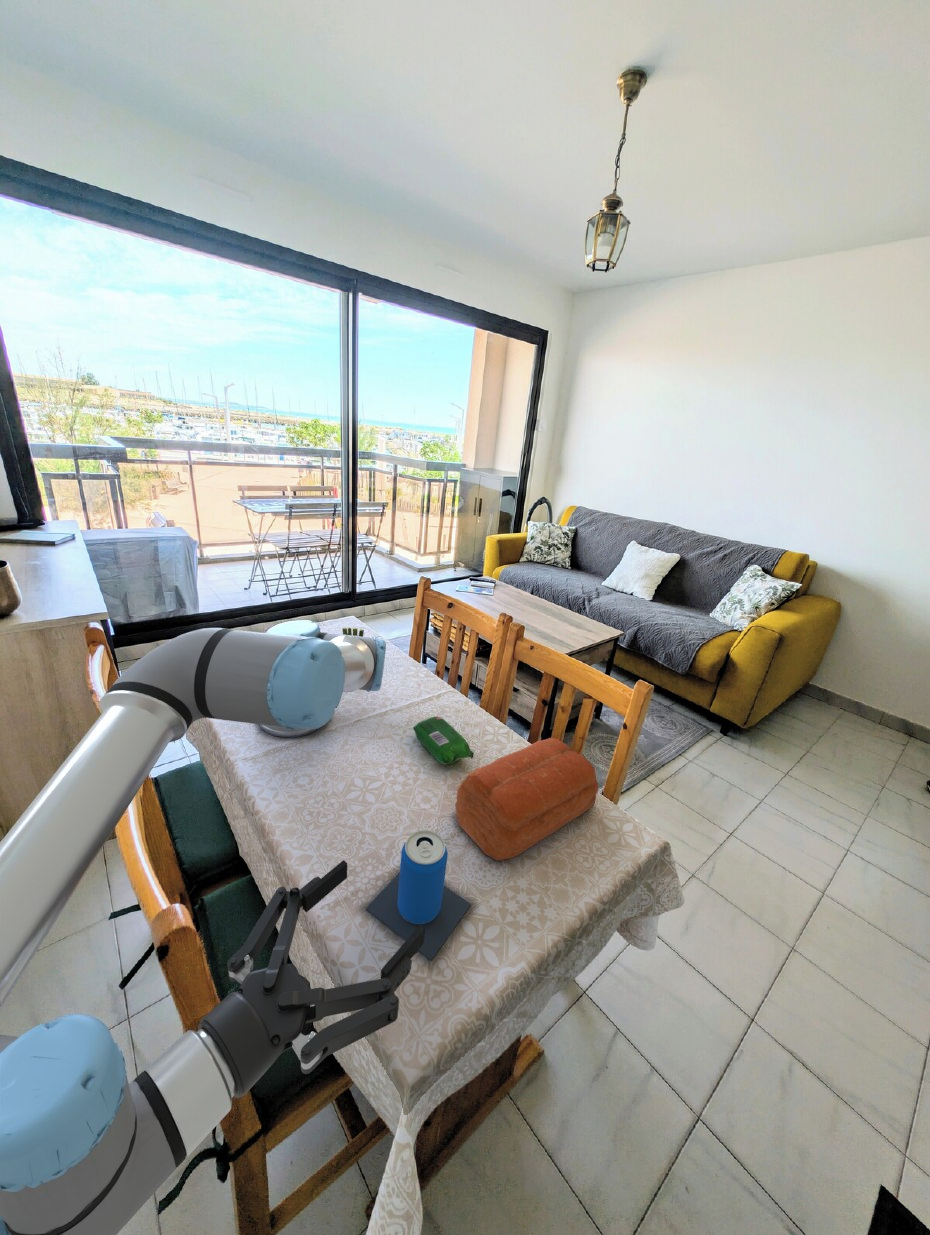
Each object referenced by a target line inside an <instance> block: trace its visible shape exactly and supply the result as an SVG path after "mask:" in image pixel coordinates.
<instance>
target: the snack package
mask: <svg viewBox="0 0 930 1235" xmlns="http://www.w3.org/2000/svg"><path fill="white" fill-rule="evenodd" d="M412 729H413V731H414V733H415V735H416V739H417V740H418V741H419V742H420V744H422V745H423V747H425V748H426V750H427V751H428V752H429V753H430V754H431V755H432V756H433V757H434V759H436V760H437V761H438V762H439V763H441V764H442V765H445V766H446V765H448V764H449V765H452V764H454V763H455V762H457V761H459V760H461V759H467V758H471V759H473V758H474V754H475V753H474V751H472V750H471V748H470V746H469V743H468V742H467V740H466V739H465V738H464V736H462V735H461V734H460V733H459V731H457V730H456V729H455V728H454V727H453V726H452V725H451V724H450V723H449V722H448V721H447V720H446V719H444V718H443V717H441V716H432V717H428V718H426V719H424V720H421V721H419V722H417V723H416V724H415V725H414V726H413V727H412Z"/></svg>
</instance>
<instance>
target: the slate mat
mask: <svg viewBox="0 0 930 1235" xmlns="http://www.w3.org/2000/svg"><path fill="white" fill-rule="evenodd" d="M399 877H400V871H399V872H398V873H397V874H396V875H395V876H394V877H393V878H392V879H391V881H390V882H389V883H388V884H387V885H386V886H385V887H384V888H383V889H382V890H381V891H380V892H379V893H378V894H377V895H376V896H375V897H374V898H373V899H372V900H371V902H370V903H368V905H367V906H366V907H365V911H366V912H368V913H369V914H370V915H372V916H373V917H374V918H376V919H377V920H378V921H379V922H380V923H382V924H383V925H385V926H386V927H387V928H388V929H389V930H391V931H392V932H393V933H395V934H396V935H397V936H398V937H399V938H401V939H402V940H404V941H405V942H406V940H407V939H408V938H409V937H410V936H411V935H412V934H413V932H414V931H415V930H416V929H417V928H418V927H419V926H420V924H415V923H411V922H409V921H407V920H406V919H404V918H403V917H402V915H401V914H400V912H399V909H398V890H399ZM471 905H472V904H471V902H469V901H468V900H466V899H464V898H463V897H462V896H460V895H459V894H457V893H456V892H454V891H453V890H451V889H450V888H448V887H447V886H446V885H444V888H443V896H442V904H441V909H440V912H439V913H438V915H437V916H436V917H435V918H434V919H433V920H431V921H430V922H427V923H424V924H421V925H422V926H423V927H424V928H425V936H424V944H423V945H422V946H421V947H420V949H419V950H418V951H417V952H419V954H421V955H423V957H425V958H426V959H428V960H429V961H430V962H433V960H434V958H435V957H436V956H437V954H438V953H439V951H440V950H441V948H442V947H443V945H444V944H446V941H447V940H448V938H449V937H450V936H451V935H452V933H453V932H454V930H455V929H456V927H457V926H458V924H459V923H460V921H461V920H462V919H463V918H464V916H465V915H466V914H467V912H468V911H469V909H470V908H471V907H472V906H471Z"/></svg>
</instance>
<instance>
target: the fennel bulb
mask: <svg viewBox="0 0 930 1235" xmlns="http://www.w3.org/2000/svg"><path fill="white" fill-rule="evenodd" d="M341 629H342V634H344V635H352V636H361V637H364V632H365V629H362V628H359V630H358V627H353V628H352V627H342V628H341Z"/></svg>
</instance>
